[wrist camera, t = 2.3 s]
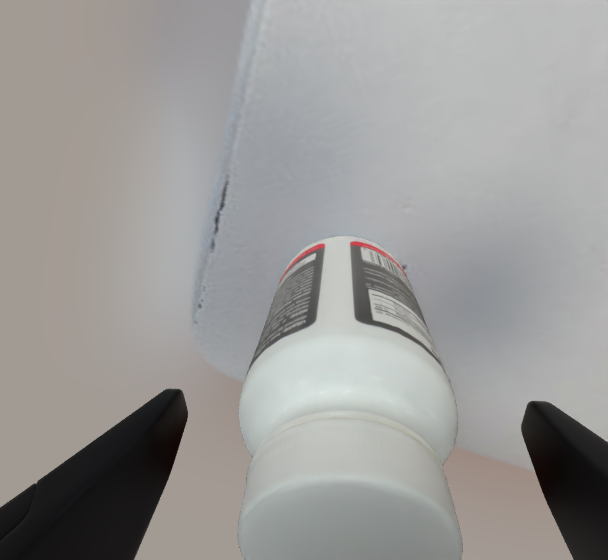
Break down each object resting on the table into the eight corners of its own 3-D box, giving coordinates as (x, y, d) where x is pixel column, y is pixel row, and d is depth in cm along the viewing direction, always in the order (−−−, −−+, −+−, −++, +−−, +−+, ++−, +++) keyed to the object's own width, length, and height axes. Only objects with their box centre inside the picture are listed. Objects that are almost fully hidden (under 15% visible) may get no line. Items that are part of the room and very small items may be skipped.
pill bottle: (296, 352, 16) (243, 628, 8) (265, 246, 14) (144, 459, 6) (415, 337, 16) (511, 633, 7) (401, 220, 13) (515, 430, 5)
